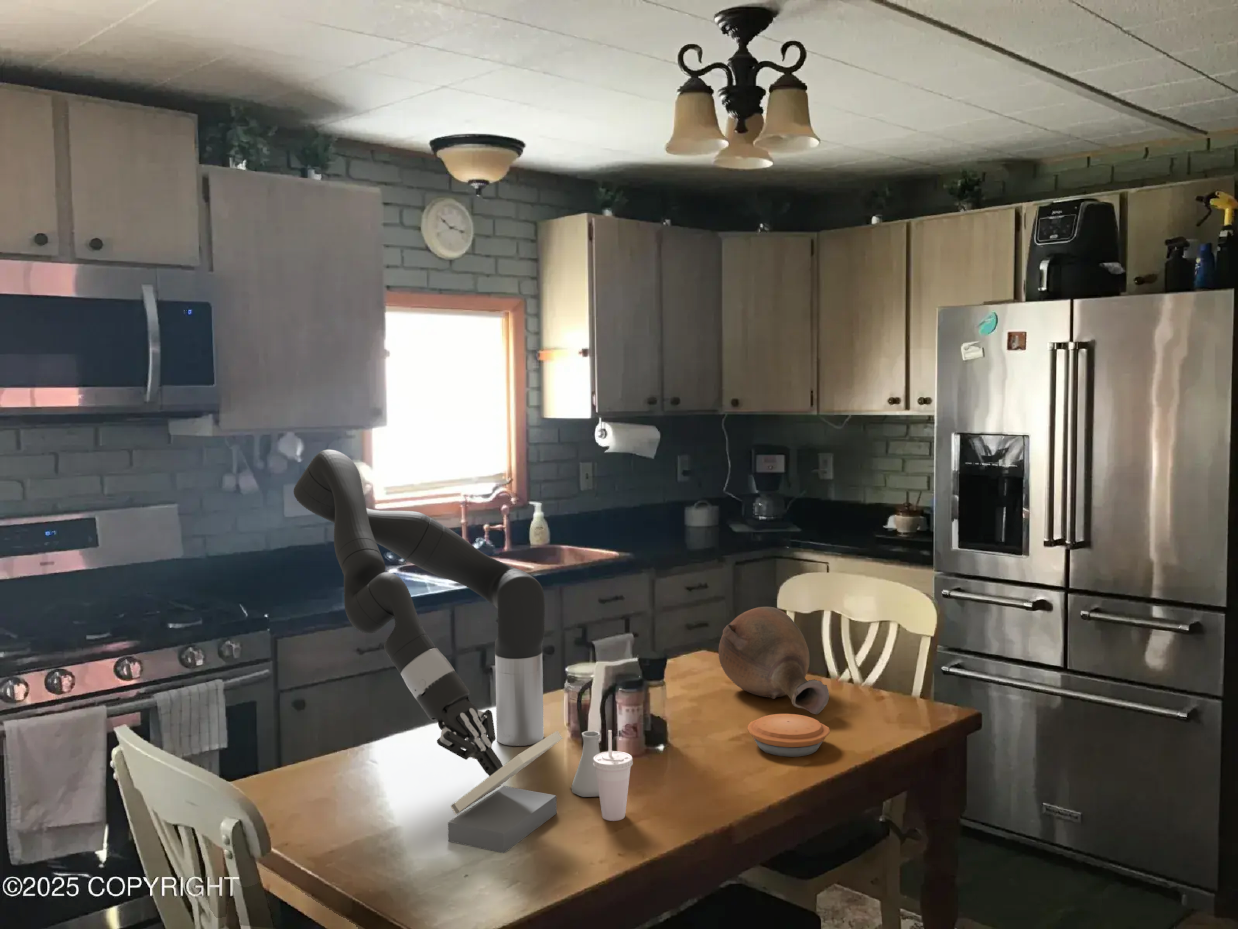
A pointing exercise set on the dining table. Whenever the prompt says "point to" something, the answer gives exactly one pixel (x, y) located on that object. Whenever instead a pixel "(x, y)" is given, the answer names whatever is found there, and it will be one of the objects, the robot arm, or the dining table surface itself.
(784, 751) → the pie
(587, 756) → the flask
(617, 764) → the smoothie
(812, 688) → the jug
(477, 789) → the panel
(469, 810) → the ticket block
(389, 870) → the dining table surface
